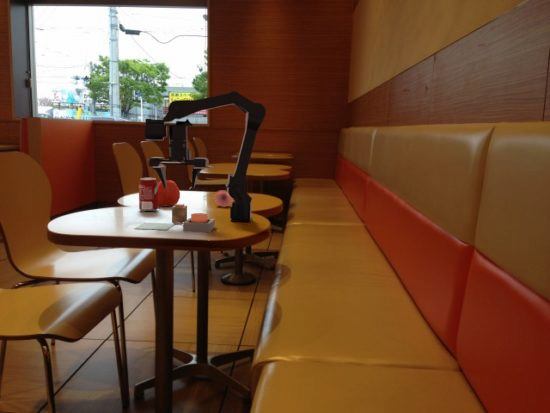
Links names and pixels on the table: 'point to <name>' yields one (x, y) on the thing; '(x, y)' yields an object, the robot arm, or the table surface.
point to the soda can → (148, 194)
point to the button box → (198, 226)
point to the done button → (199, 218)
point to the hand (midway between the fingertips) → (179, 188)
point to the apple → (168, 194)
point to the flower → (223, 198)
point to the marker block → (179, 213)
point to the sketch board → (155, 226)
